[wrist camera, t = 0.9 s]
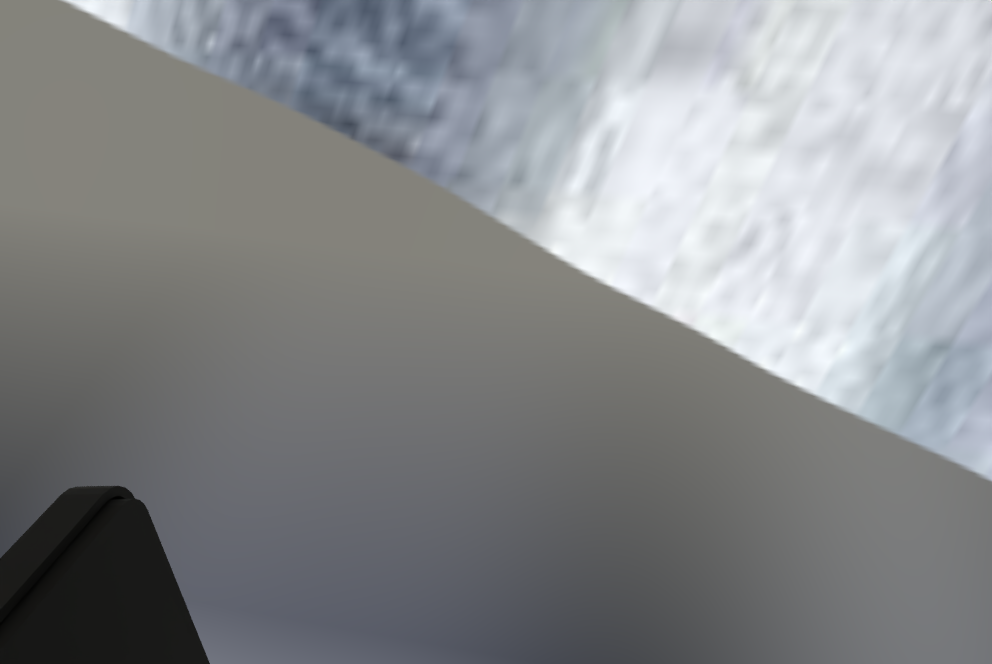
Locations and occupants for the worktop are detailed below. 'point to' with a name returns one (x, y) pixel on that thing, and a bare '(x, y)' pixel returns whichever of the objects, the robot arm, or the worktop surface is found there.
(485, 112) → the worktop surface
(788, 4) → the worktop surface
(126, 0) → the worktop surface
